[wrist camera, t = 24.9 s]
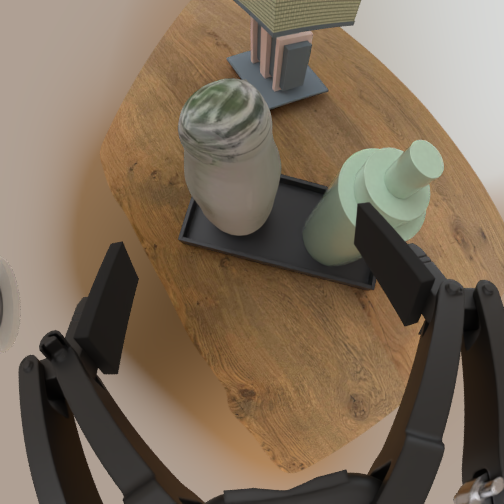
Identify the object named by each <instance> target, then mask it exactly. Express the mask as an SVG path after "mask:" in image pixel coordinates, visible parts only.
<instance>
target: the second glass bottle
mask: <svg viewBox="0 0 504 504" xmlns="http://www.w3.org/2000/svg"><path fill="white" fill-rule="evenodd" d="M443 169H444V164H443V160H442V157H441V155H440V153H439V152H438V150H437V149H436V148H435V147H434V146H433V145H432V144H430V143H429V142H427V141H424V140H417V141H414V142H413V143H412V144H411V145H410V146H409V147H408V148H407V149H406V150H405V151H401V150H399V149H395V148H382V149H374V148H371V149H364V150H361V151H358V152H356V153H355V154H353V155H351V156H350V157H349V158H348V159H347V160H346V162H345V163H344V164H343V166H342V167H341V169H340V170H339V172H338V173H337V175H336V176H335V178H334V179H333V181H332V182H331V184H330V185H329V187H328V188H327V190H326V191H325V193H324V194H323V196H322V197H321V199H320V200H319V202H318V203H317V205H316V206H315V208H314V209H313V211H312V212H311V214H310V215H309V216H308V218H307V220H306V222H305V224H304V227H303V241H304V245H305V247H306V250H307V251H308V253H309V254H310V256H311V257H312V258H313V259H315V260H316V261H317V262H319V263H320V264H323V265H325V266H330V267H338V266H343V265H345V264H348V263H351V262H354V261H356V260H359V259H362V258H363V257H362V256H361V254H360V253H359V251H358V250H357V248H356V247H355V245H354V236H355V226H356V215H357V204H358V203H366V202H370V203H371V204H372V205H373V207H374V208H375V209H376V210H377V211H378V212H379V213H380V214H381V215H382V216H383V217H384V218H385V219H386V220H387V222H388V223H389V224H390V225H391V226H392V227H393V228H394V229H395V230H396V231H397V233H398V234H399V235H400V236H401V237H402V238H403V239H404V241H405V242H406V241H408V240H409V239H411V238H412V237H413V236H415V235H416V234H417V232H418V231H419V230H420V228H421V226H422V224H423V222H424V219H425V215H426V209H427V207H428V204H429V200H430V186H429V184H430V183H431V182H433V181H434V180H435V179H437V178H438V177H440V176H441V174H442V173H443Z"/></svg>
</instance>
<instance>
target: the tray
mask: <svg viewBox="0 0 504 504" xmlns="http://www.w3.org/2000/svg"><path fill="white" fill-rule="evenodd" d="M327 188H328V187H326V186H323V185H319V184H316V183H312V182H308V181H305V180H301V179H297V178H294V177H290V176H286V175H282V174H281V175H280V181H279V186H278V189H277V193H276V196H275V199H274V204H273V207H272V210H271V212H270V214H269V216H268V218H267V220H266V221H265V223H264V224H263V225H262V226H261V227H260V228H259V229H258V230H256V231H255V232H253V233H251V234H248V235H241V236H237V235H231V234H228V233H226V232H223V231H222V230H220V229H219V228H217V227H216V226H215V225H213V224H212V223H211V222H210V221H209V220H208V219H207V217H206V216H205V215H204V213H203V211H202V210H201V208H200V206H199V205H198V204H197V202H196V201H195V200H194V198H193V197H191V200H190V203H189V206H188V209H187V212H186V215H185V219H184V222H183V225H182V228H181V232H180V235H179V238H178V240H179V241H181V242H182V243H185V244H189V245H192V246H196V247H200V248H204V249H208V250H211V251H215V252H219V253H223V254H227V255H231V256H234V257H238V258H242V259H246V260H250V261H254V262H257V263H261V264H265V265H269V266H273V267H277V268H281V269H285V270H289V271H292V272H296V273H300V274H304V275H308V276H312V277H316V278H320V279H324V280H328V281H332V282H336V283H340V284H344V285H348V286H352V287H356V288H360V289H364V290H374V288H375V283H376V278H375V276H374V274H373V273H372V271H371V270H370V268H369V267H368V265H367V263H366V262H365V260H364V259H363V258H362V259H359V260H356V261H354V262H351V263H348V264H345V265H343V266H338V267H330V266H325V265H323V264H320V263H319V262H317V261H316V260H315V259H313V258H312V257H311V256H310V254H309V253H308V251H307V250H306V247H305V245H304V241H303V227H304V224H305V222H306V220H307V218H308V216H309V215H310V214H311V212H312V211H313V209H314V208H315V206H316V205H317V203H318V202H319V200H320V199H321V197H322V196H323V194H324V193H325V191H326V190H327Z"/></svg>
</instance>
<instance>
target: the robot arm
mask: <svg viewBox="0 0 504 504" xmlns="http://www.w3.org/2000/svg"><path fill="white" fill-rule="evenodd" d="M354 245H355V247H356V248H357V250H358V251H359V253H360V254H361V256H362V257H363V259H364V260H365V262H366V263H367V265H368V267H369V268H370V270H371V271H372V273H373V274H374V276H375V278H376V279H377V281H378V282H379V284H380V286H381V287H382V289H383V290H384V292H385V294H386V295H387V297H388V299H389V300H390V302H391V304H392V305H393V307H394V309H395V310H396V312H397V314H398V316H399V317H400V319H401V321H402V323H403V324H404V326H408V325H411V324H414V323H417V322H418V321H419V319H420V316H421V314H422V315H423V316H424V318H425V321H424V324H423V326H422V328H421V330H420V332H419V335H421V336H420V340H419V344H418V348H417V352H416V356H415V359H414V363H413V367H412V370H411V373H410V377H409V380H408V383H407V386H406V389H405V392H404V395H403V398H402V401H401V404H400V407H399V409H398V412H397V415H396V418H395V420H394V423H393V425H392V428H391V430H390V432H389V435H388V437H387V439H386V442H385V444H384V447H383V448H382V450H381V452H380V454H379V455H378V457H377V458H376V460H375V461H374V463H373V465H372V467H371V468H370V471H369V472H368V474H367V475H366V474H361V473H347V470H343V471H339V472H335V473H332V474H328V475H324V476H320V477H316V478H314V479H312V480H310V481H308V482H306V483H303V484H302V485H299V486H297V487H294V488H292V489H290V490H269V489H257V488H250V489H239V490H226V491H224V494H223V495H219V496H217V497H215V498H213V499H211V500H209V501H207V502H206V503H205V502H203V501H202V500H201V499H200V498H199V497H198V496H197V495H196V494H195V493H193V492H192V491H191V490H189V489H188V488H187V487H185V486H184V485H183V484H182V483H181V482H180V481H179V480H178V479H177V478H176V477H175V476H174V475H173V474H172V473H171V472H170V471H169V469H168V468H167V467H166V466H165V465H164V464H163V463H162V462H161V461H160V460H159V458H158V457H157V456H156V455H155V454H154V452H153V451H152V450H151V449H150V448H149V446H148V445H147V444H146V443H145V442H144V440H143V439H142V438H141V437H140V435H139V434H138V433H137V431H136V430H135V429H134V427H133V426H132V425H131V423H130V422H129V421H128V419H127V418H126V417H125V415H124V414H123V412H122V411H121V410H120V408H119V407H118V405H117V404H116V402H115V401H114V399H113V398H112V396H111V395H110V393H109V392H108V390H107V389H106V387H105V386H104V384H103V382H102V381H101V379H100V378H99V377H98V376H97V370H98V368H99V369H100V370H101V372H102V373H103V374H118V370H119V365H120V359H121V353H122V349H123V343H124V339H125V334H126V329H127V324H128V320H129V316H130V312H131V308H132V303H133V299H134V295H135V291H136V287H137V284H138V280H139V278H138V276H137V274H136V272H135V269H134V267H133V265H132V263H131V260H130V258H129V256H128V253H127V251H126V249H125V246H124V244H123V242H117V243H112V244H111V245H110V247H109V249H108V251H107V253H106V256H105V258H104V260H103V262H102V264H101V267H100V269H99V271H98V274H97V276H96V279H95V281H94V283H93V286H92V288H91V291H90V293H89V296H88V297H83V298H82V300H81V301H80V302H79V304H78V305H77V307H76V309H75V312H74V315H73V317H72V321H71V322H70V325H69V328H68V331H67V333H66V337H65V338H64V336H63V335H62V334H61V333H60V332H59V331H56V330H55V331H51V332H49V333H47V334H46V335H45V336H44V337H43V339H42V340H41V342H40V345H39V349H40V351H41V352H42V353H43V355H44V356H45V357H46V359H43V360H40V361H39V360H38V359H37V358H36V357H35V356H34V355H29V356H27V357H25V358H24V359H23V360H22V362H21V363H20V366H19V394H20V408H21V418H22V426H23V434H24V441H25V446H26V452H27V458H28V462H29V467H30V471H31V476H32V480H33V484H34V487H35V491H36V494H37V497H38V501H39V504H103V502H102V500H101V498H100V496H99V493H98V491H97V488H96V485H95V483H94V480H93V478H92V475H91V472H90V469H89V467H88V464H87V461H86V458H85V455H84V451H83V448H82V445H81V442H80V438H79V435H78V431H77V428H76V423H75V419H74V417H75V418H76V420H77V422H78V424H79V426H80V428H81V430H82V432H83V433H84V435H85V437H86V438H87V440H88V442H89V443H90V445H91V447H92V449H93V450H94V452H95V454H96V455H97V457H98V458H99V460H100V462H101V463H102V465H103V466H104V468H105V469H106V470H107V472H108V474H109V475H110V477H111V478H112V479H113V481H114V482H115V484H116V485H117V486H118V487H119V489H120V490H121V492H122V493H123V495H124V498H123V502H124V504H424V502H425V500H426V498H427V496H428V493H429V491H430V489H431V486H432V484H433V481H434V479H435V476H436V474H437V471H438V468H439V466H440V462H441V460H442V457H443V453H444V449H445V448H444V444H443V442H442V437H443V433H444V430H445V426H446V423H447V419H448V415H449V411H450V407H451V402H452V398H453V393H454V389H455V383H456V377H457V371H458V365H459V360H460V352H461V356H462V366H463V379H464V380H463V381H464V405H465V408H464V411H465V416H464V446H463V458H462V483H463V485H462V486H461V488H460V489H459V491H458V493H456V495H455V496H454V499H453V501H454V504H504V307H503V304H502V301H501V297H500V294H499V291H498V289H497V287H496V286H495V285H494V284H493V283H491V282H490V281H487V280H480V281H479V282H478V283H477V285H476V288H463V286H462V285H461V284H460V283H459V282H457V281H455V280H451V279H446V278H445V276H444V275H443V274H442V273H441V271H440V270H439V269H438V268H437V267H436V265H435V264H434V263H433V262H431V259H430V258H429V257H428V256H427V255H426V253H425V252H424V251H423V250H422V249H421V248H420V247H418V246H417V245H415V244H413V243H411V244H407V243H406V242H405V241H404V239H403V238H402V237H401V236H400V235H399V234H398V233H397V231H396V230H395V229H394V228H393V227H392V226H391V225H390V224H389V223H388V222H387V220H386V219H385V218H384V217H383V216H382V215H381V214H380V213H379V212H378V211H377V210H376V209H375V208H374V207H373V205H372V204H371V203H370V202H366V203H358V204H357V215H356V226H355V236H354ZM2 316H3V300H2V293H1V289H0V326H1V322H2Z"/></svg>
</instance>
